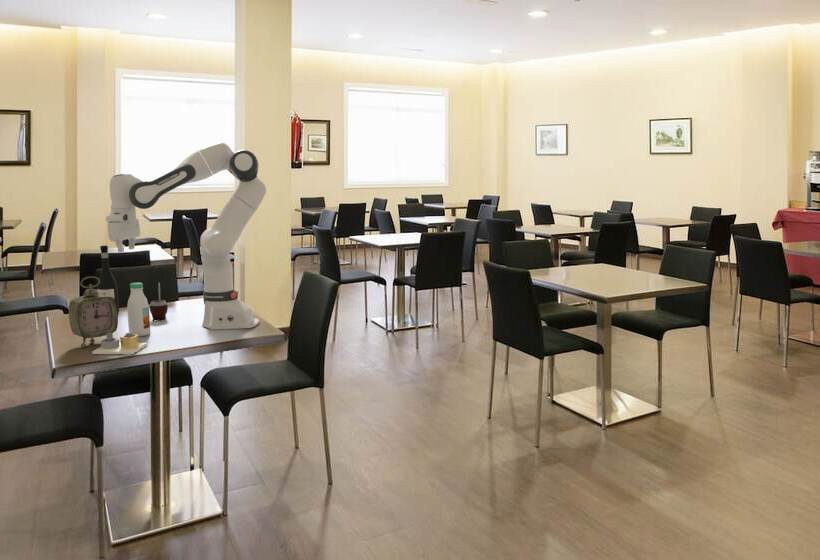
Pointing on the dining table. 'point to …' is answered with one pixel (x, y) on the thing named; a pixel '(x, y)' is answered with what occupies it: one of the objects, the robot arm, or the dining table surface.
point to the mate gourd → (158, 308)
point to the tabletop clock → (92, 314)
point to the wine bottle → (107, 278)
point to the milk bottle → (138, 311)
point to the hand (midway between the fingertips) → (126, 250)
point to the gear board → (119, 350)
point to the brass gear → (129, 342)
